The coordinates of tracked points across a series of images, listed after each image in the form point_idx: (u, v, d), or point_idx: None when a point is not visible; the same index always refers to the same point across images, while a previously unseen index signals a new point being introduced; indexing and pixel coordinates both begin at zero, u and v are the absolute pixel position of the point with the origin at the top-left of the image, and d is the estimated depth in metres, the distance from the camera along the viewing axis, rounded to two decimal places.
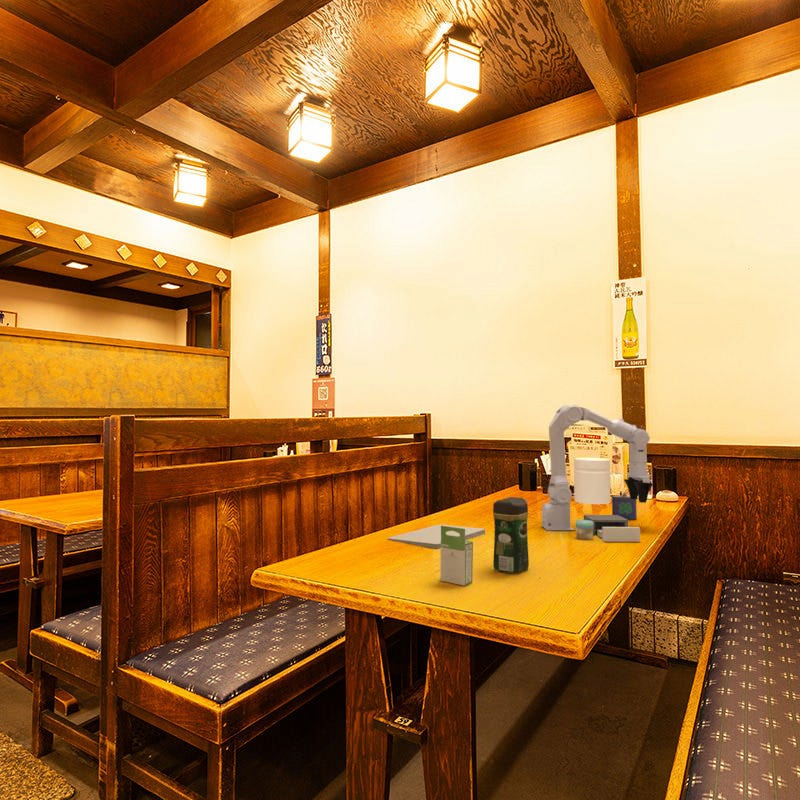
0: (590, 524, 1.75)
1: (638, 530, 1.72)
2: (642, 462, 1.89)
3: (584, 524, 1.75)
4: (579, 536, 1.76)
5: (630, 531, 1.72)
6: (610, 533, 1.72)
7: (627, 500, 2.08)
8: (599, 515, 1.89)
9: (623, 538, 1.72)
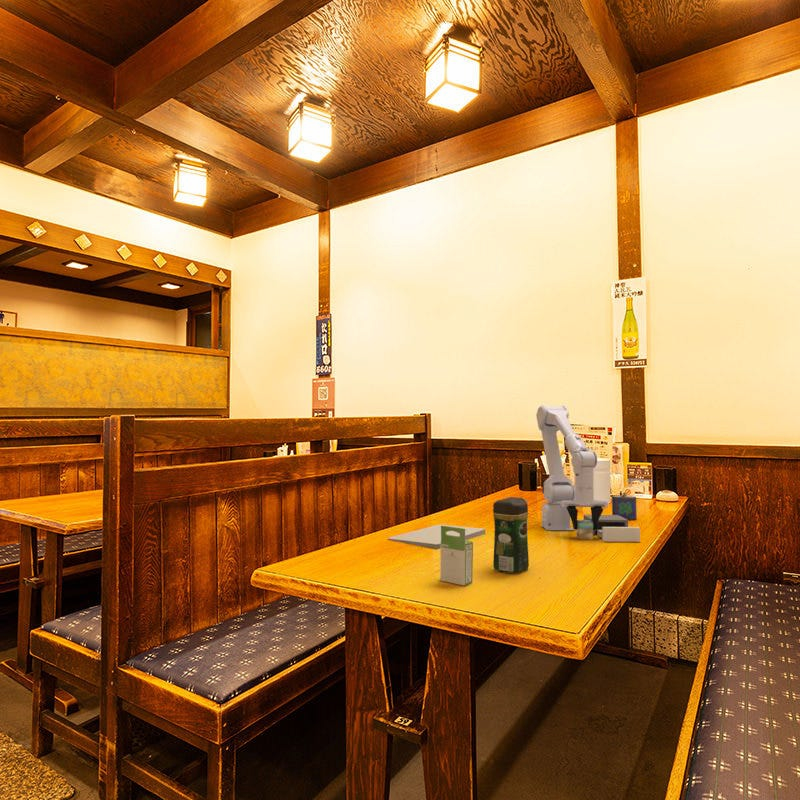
0: (590, 524, 1.75)
1: (638, 530, 1.72)
2: (576, 487, 1.77)
3: (584, 524, 1.75)
4: (579, 536, 1.76)
5: (630, 531, 1.72)
6: (610, 533, 1.72)
7: (627, 500, 2.08)
8: None
9: (623, 538, 1.72)
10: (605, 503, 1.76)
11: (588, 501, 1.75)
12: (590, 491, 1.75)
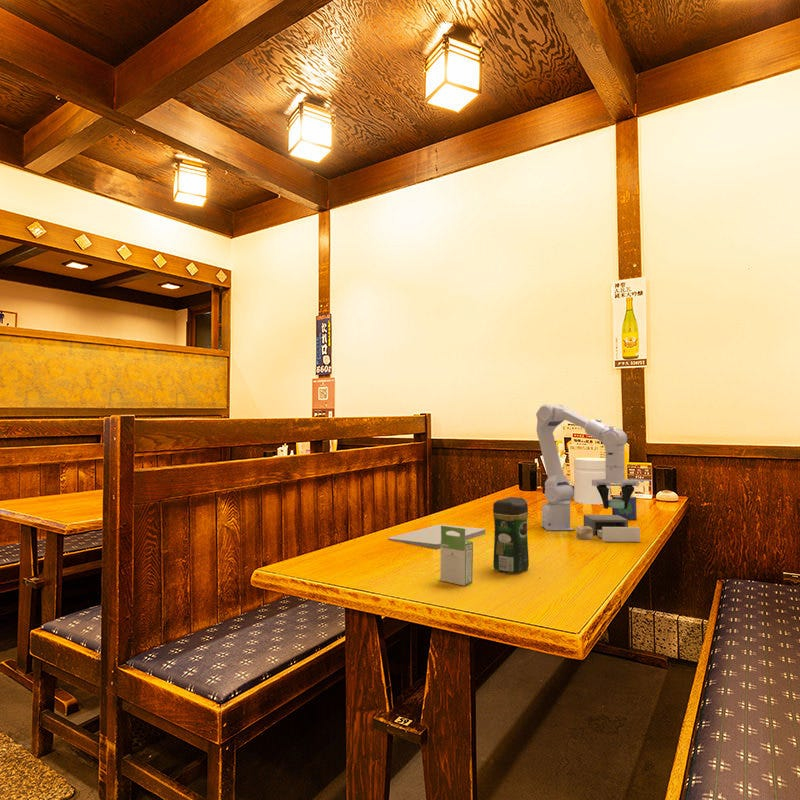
0: (621, 503, 1.74)
1: (638, 530, 1.72)
2: (606, 466, 1.76)
3: (615, 503, 1.74)
4: (579, 536, 1.76)
5: (630, 531, 1.72)
6: (610, 533, 1.72)
7: None
8: (599, 515, 1.89)
9: (623, 538, 1.72)
10: (636, 482, 1.75)
11: (619, 480, 1.74)
12: (621, 470, 1.74)
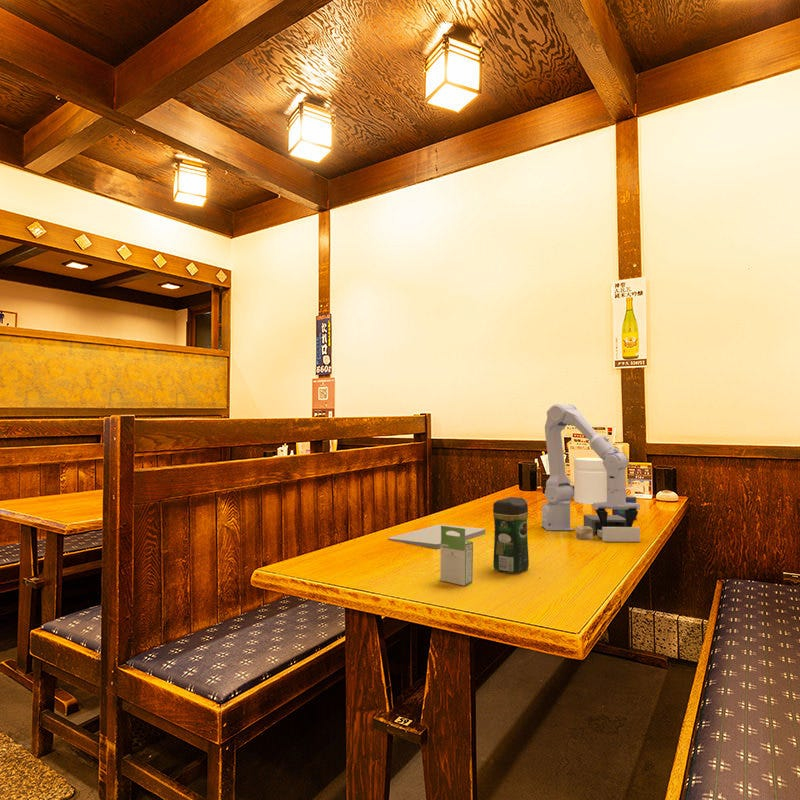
0: None
1: (638, 530, 1.72)
2: (608, 489, 1.76)
3: None
4: (579, 536, 1.76)
5: (630, 531, 1.72)
6: (610, 533, 1.72)
7: (627, 500, 2.08)
8: None
9: (623, 538, 1.72)
10: (637, 505, 1.75)
11: (620, 503, 1.73)
12: (622, 493, 1.74)
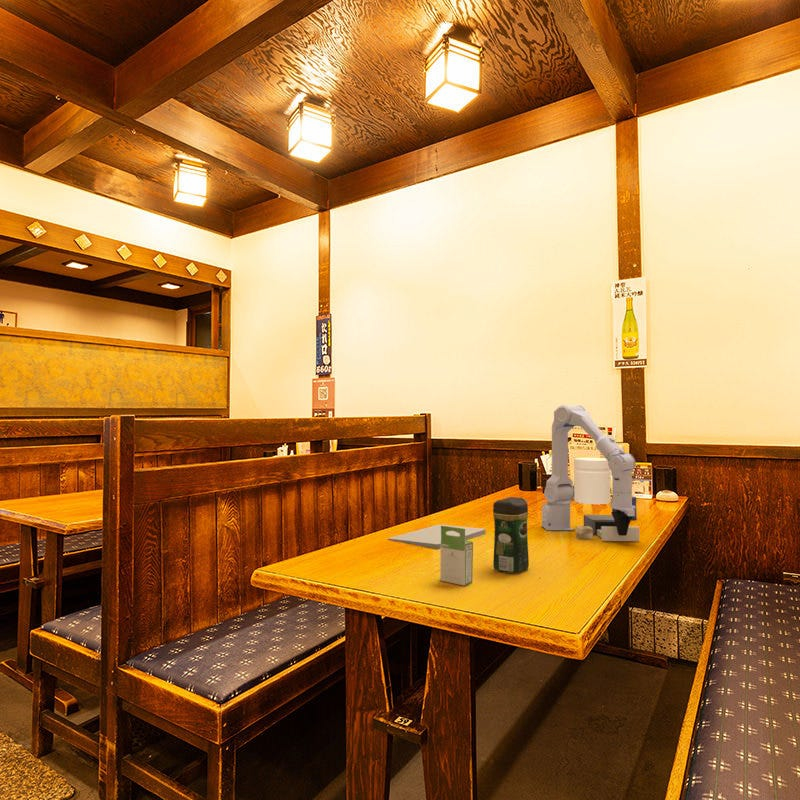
0: None
1: (637, 530, 1.72)
2: (627, 492, 1.69)
3: None
4: (579, 536, 1.76)
5: (630, 530, 1.72)
6: (609, 533, 1.72)
7: None
8: (599, 515, 1.89)
9: (622, 538, 1.72)
10: None
11: None
12: None
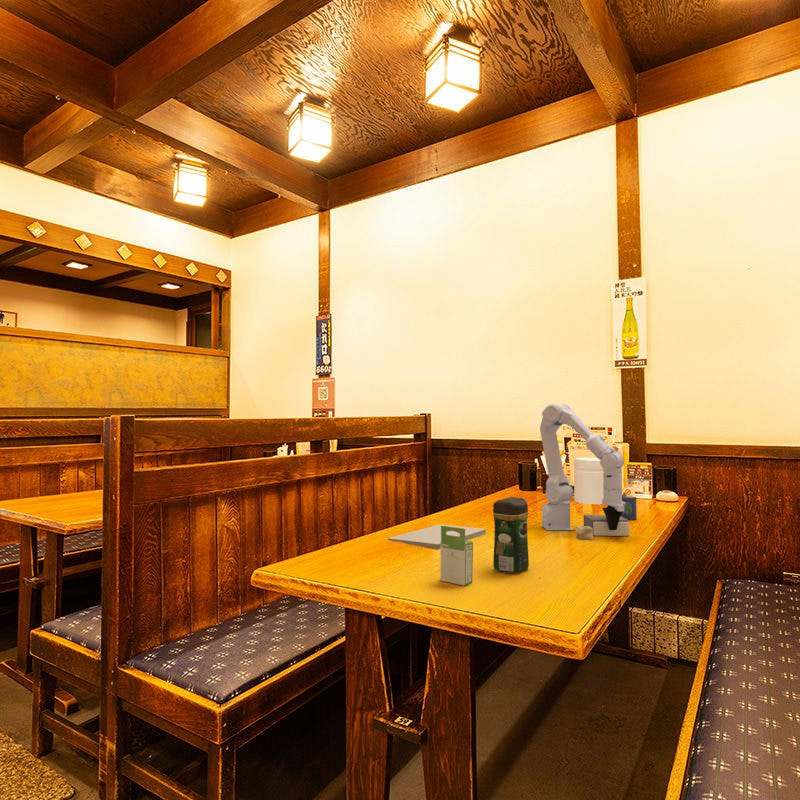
0: None
1: (627, 525, 1.80)
2: (617, 489, 1.77)
3: None
4: (579, 536, 1.76)
5: (620, 525, 1.80)
6: (601, 527, 1.80)
7: (627, 500, 2.08)
8: (599, 515, 1.89)
9: (613, 532, 1.80)
10: None
11: None
12: None
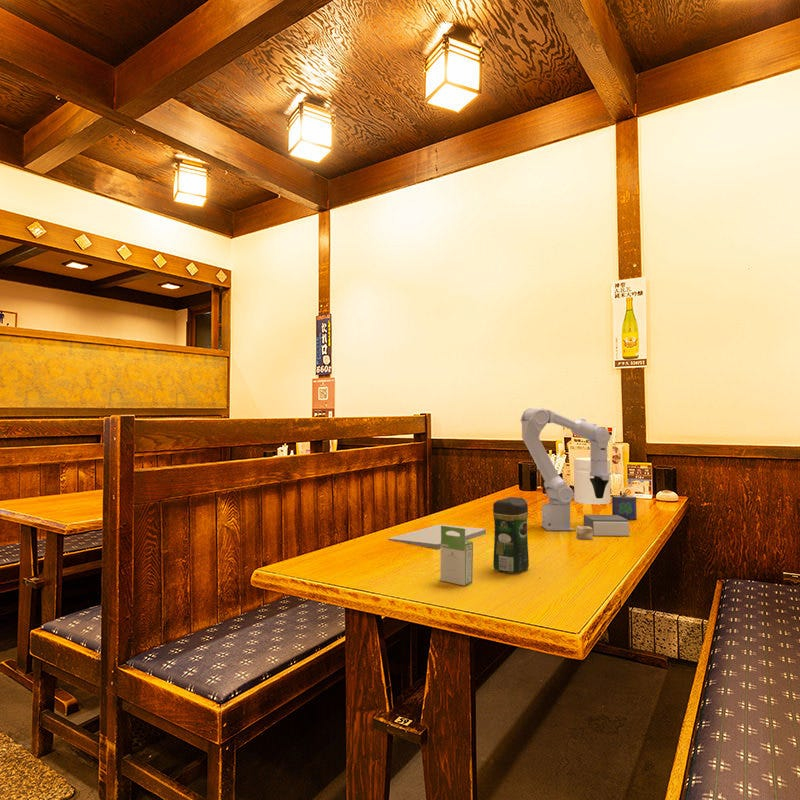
0: None
1: (627, 525, 1.80)
2: (602, 460, 1.93)
3: None
4: (579, 536, 1.76)
5: (620, 525, 1.80)
6: (601, 527, 1.80)
7: (627, 500, 2.08)
8: (599, 515, 1.89)
9: (613, 532, 1.80)
10: None
11: None
12: None
